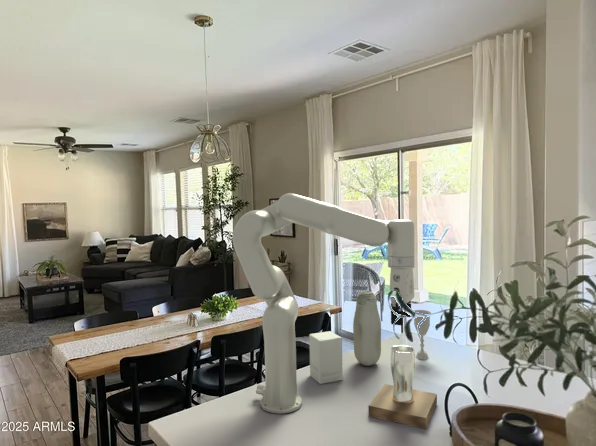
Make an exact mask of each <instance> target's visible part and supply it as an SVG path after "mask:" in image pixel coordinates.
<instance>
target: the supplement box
mask: <svg viewBox="0 0 596 446" xmlns="http://www.w3.org/2000/svg"><path fill="white" fill-rule="evenodd" d="M308 337H309V338H308V339H309V375H310V376H311V377H312V378H313V379H314V380H315V381H316V382H317V383H319V385H322V384H328V383H333V382H338V381H343V376H344V375H343V338H342V337H341V336H339V334H337V333H334V331H331V330H328V331H321V332H315V333H310V334H309V336H308Z"/></svg>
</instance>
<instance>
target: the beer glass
mask: <svg viewBox="0 0 596 446" xmlns="http://www.w3.org/2000/svg"><path fill="white" fill-rule="evenodd" d="M390 370H391V377H392V381H393V386H394V392H393V400H394V401H395V402H397V403H401V404H410V403H412V402H413V401H414V396H413V390H412V389H413V385H414V378H415V374H416V373H415V372H416V354H415V348H413V347H412V346H410V345H405V344H400V345H393V346H391V348H390Z"/></svg>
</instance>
